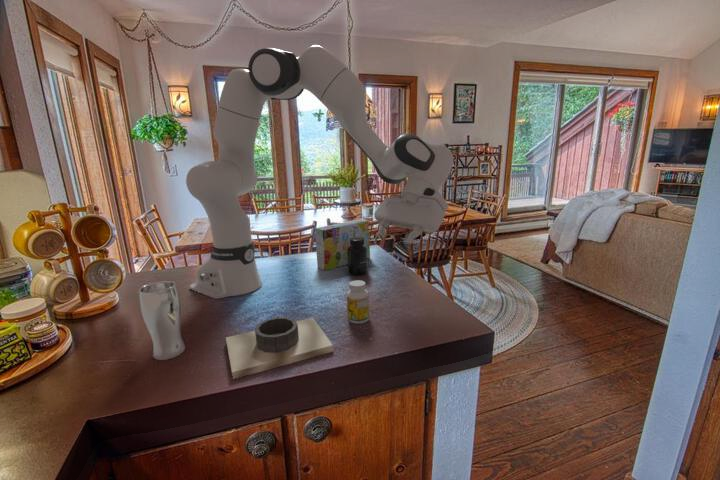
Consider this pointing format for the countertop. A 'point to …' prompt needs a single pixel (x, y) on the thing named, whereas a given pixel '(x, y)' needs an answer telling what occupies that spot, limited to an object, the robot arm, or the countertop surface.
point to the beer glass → (162, 318)
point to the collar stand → (276, 345)
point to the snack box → (339, 242)
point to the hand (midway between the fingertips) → (393, 239)
